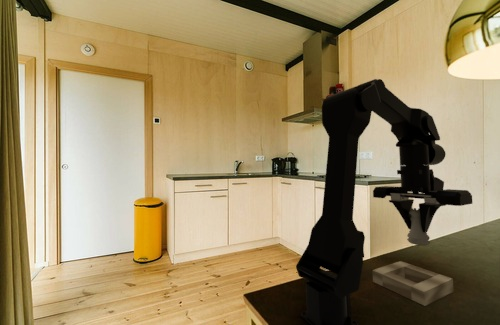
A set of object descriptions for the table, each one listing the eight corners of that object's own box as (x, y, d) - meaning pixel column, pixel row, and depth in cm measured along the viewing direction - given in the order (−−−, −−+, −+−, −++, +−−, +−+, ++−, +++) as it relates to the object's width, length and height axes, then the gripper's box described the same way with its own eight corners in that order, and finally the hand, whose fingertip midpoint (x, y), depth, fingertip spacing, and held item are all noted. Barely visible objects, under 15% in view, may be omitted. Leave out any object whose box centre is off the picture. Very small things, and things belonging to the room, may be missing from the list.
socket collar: (425, 306, 40) (424, 291, 40) (373, 281, 49) (372, 270, 49) (453, 291, 44) (452, 278, 44) (400, 271, 53) (400, 261, 53)
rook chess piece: (420, 246, 51) (418, 211, 51) (402, 241, 55) (400, 208, 55) (435, 244, 52) (433, 209, 52) (416, 239, 56) (414, 207, 57)
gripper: (481, 163, 49) (486, 235, 49) (395, 166, 66) (398, 219, 66) (456, 164, 45) (461, 243, 44) (370, 166, 61) (373, 224, 61)
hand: (417, 230), depth 54 cm, fingers closed on rook chess piece, 3 cm apart
